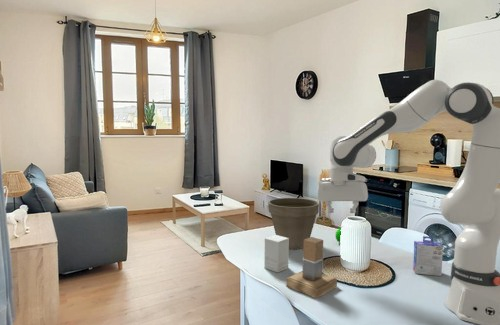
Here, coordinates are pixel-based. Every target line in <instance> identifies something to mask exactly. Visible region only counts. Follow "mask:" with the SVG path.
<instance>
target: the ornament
mask: <svg viewBox="0 0 500 325" xmlns="http://www.w3.org/2000/svg"><path fill="white" fill-rule="evenodd" d="M341 228H342V227H340V228H338V229H337V230H336V232H335V239H336V241H337V242H338V243H339V244H341V243H340V235H341V231H340V230H341Z"/></svg>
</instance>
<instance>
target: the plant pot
mask: <svg viewBox="0 0 500 325" xmlns="http://www.w3.org/2000/svg"><path fill="white" fill-rule="evenodd" d="M267 204H268V207H267V208H268V212H269V214H270V216H271V220H272V224H273V229H274V232H275V235H278V236H282V237H286V238H289V250H301V249H302V250H303V245H304V239H307V238H310V237H312V233H313V230H314V226H315V222H316V217H317V215H318V214H319V208H320V202H319V201H317V200H314V199H309V198H303V197H302V198H301V197H279V198H273V199H270V200H269V201H268V202H267Z"/></svg>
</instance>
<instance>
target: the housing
mask: <svg viewBox="0 0 500 325" xmlns="http://www.w3.org/2000/svg"><path fill="white" fill-rule="evenodd" d="M302 251H303V252H302V259H301V260H302V271H303V276H302V278H305V279H308V280H310V281H313V282H315V281H317V280H319V279H321V278H322V274H323V261H324V257H323V256H324V239H322V238H319V237H318V238H317V237H313V236H310V238H307V239H304V245H303V248H302Z"/></svg>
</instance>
